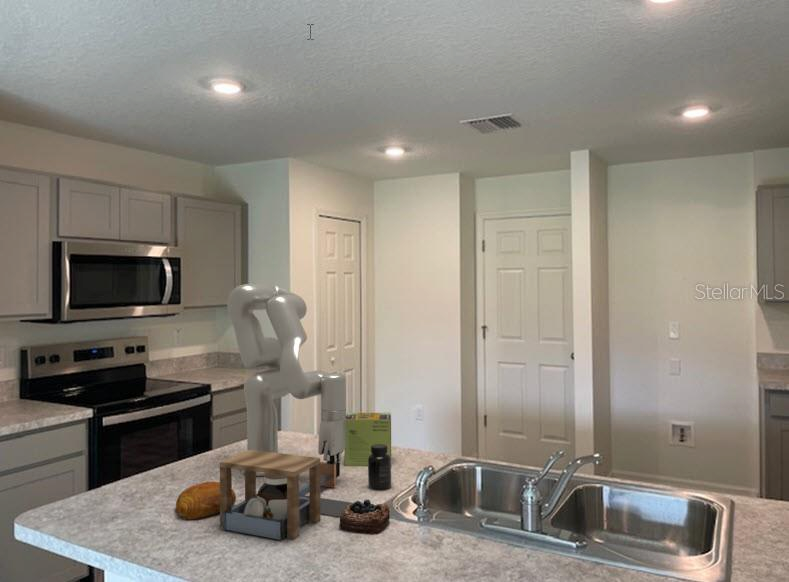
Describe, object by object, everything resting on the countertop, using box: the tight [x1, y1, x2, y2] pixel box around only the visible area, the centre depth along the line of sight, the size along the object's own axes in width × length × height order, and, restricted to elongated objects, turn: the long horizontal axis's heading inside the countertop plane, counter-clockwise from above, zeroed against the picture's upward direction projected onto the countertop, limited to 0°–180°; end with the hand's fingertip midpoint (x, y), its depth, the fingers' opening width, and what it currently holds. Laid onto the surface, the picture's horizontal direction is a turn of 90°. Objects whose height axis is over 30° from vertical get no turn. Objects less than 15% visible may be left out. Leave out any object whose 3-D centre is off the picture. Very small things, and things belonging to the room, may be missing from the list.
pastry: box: [339, 499, 390, 536], centre depth 146 cm, size 11×12×6 cm
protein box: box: [343, 412, 392, 467], centre depth 200 cm, size 10×15×16 cm
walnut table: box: [219, 450, 322, 540], centre depth 147 cm, size 21×12×16 cm, turn 67°
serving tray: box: [221, 461, 337, 541], centre depth 157 cm, size 16×38×7 cm, turn 157°
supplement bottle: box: [367, 444, 392, 491], centre depth 174 cm, size 7×7×12 cm
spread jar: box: [244, 473, 287, 520], centre depth 147 cm, size 12×11×12 cm
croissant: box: [175, 480, 237, 520], centre depth 157 cm, size 14×16×8 cm
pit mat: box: [303, 495, 353, 519], centre depth 160 cm, size 26×10×1 cm, turn 67°
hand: (333, 476), depth 178 cm, fingers closed
